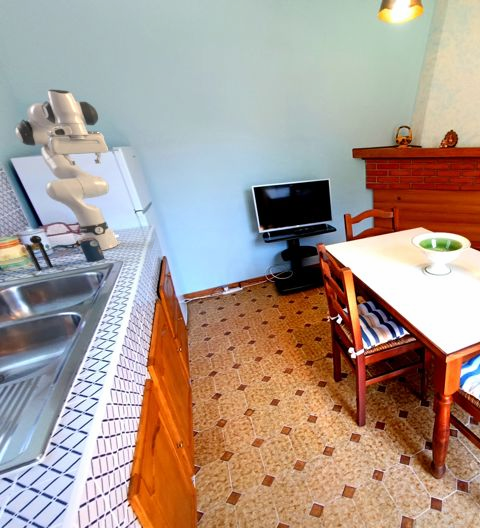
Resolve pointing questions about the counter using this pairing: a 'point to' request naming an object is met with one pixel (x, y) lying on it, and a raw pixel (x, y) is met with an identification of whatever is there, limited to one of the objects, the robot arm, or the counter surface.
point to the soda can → (91, 249)
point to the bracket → (35, 257)
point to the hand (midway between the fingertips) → (86, 164)
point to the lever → (35, 242)
